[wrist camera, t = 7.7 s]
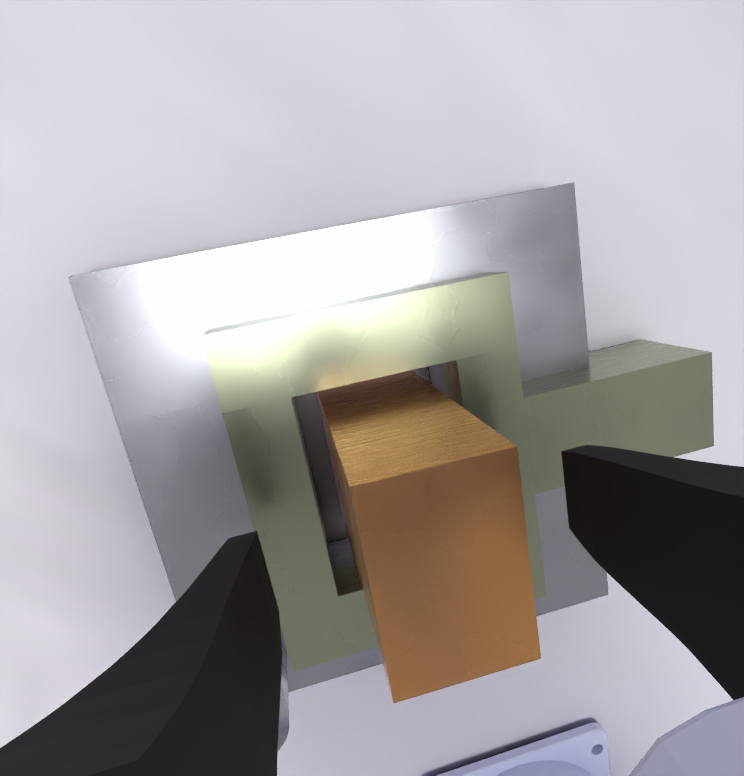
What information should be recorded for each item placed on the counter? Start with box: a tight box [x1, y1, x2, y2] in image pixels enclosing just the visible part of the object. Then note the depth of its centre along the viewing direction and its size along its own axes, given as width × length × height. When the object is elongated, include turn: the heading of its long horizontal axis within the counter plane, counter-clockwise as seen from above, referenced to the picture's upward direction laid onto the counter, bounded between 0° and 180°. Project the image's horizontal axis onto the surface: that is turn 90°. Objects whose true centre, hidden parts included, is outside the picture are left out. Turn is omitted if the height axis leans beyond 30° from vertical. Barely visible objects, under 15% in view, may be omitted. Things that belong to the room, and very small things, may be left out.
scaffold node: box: [68, 183, 714, 751], centre depth 15 cm, size 14×17×4 cm
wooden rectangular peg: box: [317, 370, 541, 703], centre depth 13 cm, size 4×3×8 cm, turn 10°
